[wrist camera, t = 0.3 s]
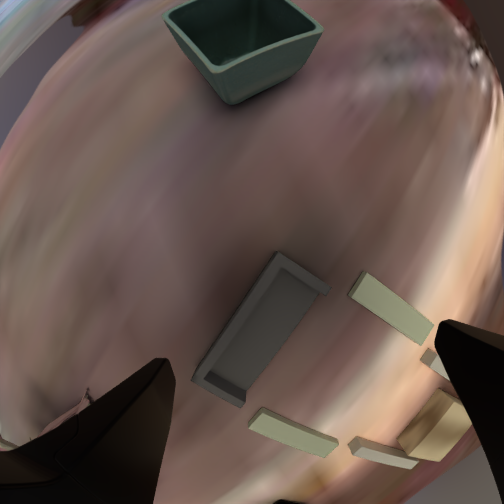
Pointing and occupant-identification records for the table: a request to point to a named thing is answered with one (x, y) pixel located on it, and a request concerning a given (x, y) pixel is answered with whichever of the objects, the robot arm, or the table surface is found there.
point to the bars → (387, 309)
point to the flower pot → (243, 42)
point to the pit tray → (258, 329)
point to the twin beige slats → (389, 454)
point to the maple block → (435, 427)
